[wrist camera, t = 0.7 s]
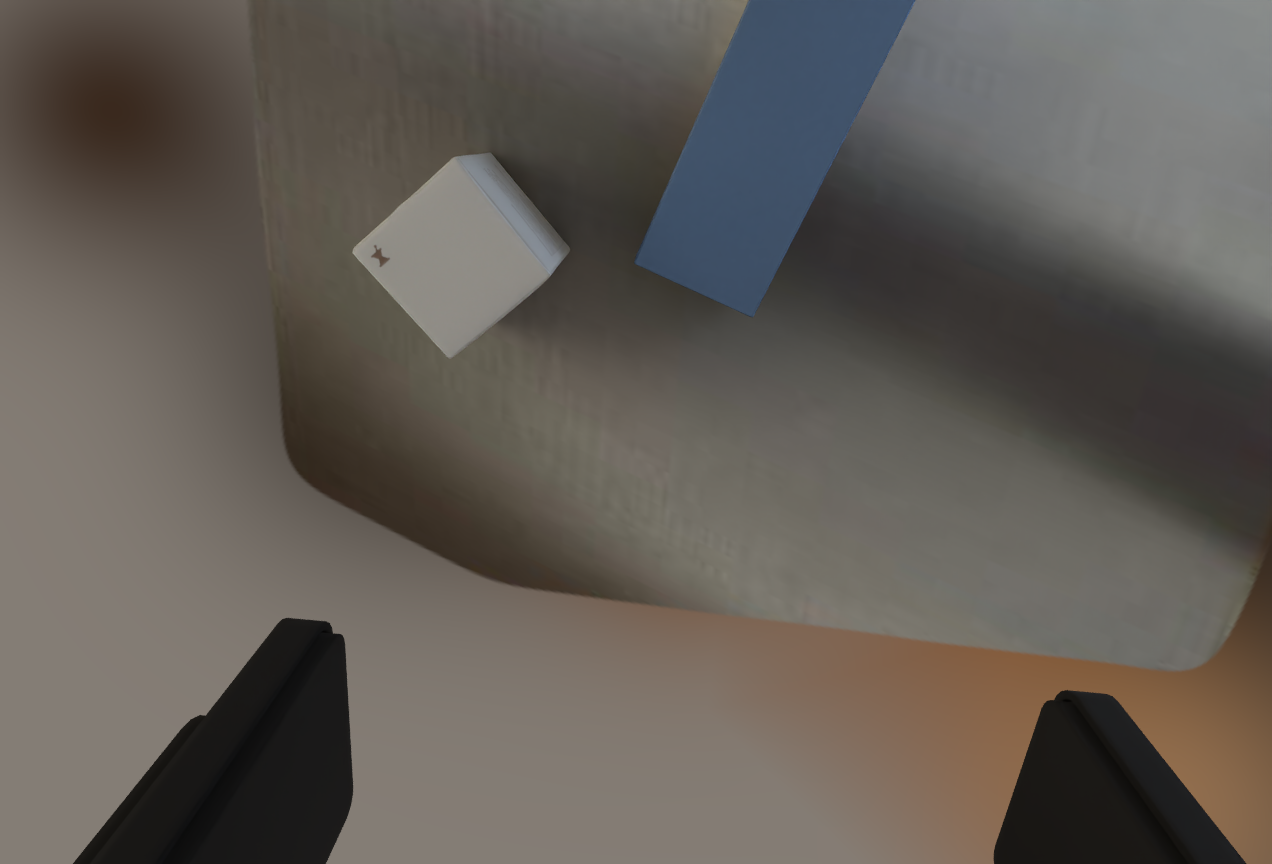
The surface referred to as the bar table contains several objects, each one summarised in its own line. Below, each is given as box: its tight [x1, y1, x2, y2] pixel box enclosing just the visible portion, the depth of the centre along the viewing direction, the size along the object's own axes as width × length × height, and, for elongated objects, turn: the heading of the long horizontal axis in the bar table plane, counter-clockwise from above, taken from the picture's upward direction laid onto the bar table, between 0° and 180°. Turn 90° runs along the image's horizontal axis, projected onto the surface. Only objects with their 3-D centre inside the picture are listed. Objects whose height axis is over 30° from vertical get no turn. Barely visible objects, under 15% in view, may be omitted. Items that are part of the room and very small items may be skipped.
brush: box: [634, 0, 915, 317], centre depth 35 cm, size 15×6×4 cm, turn 156°
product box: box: [353, 152, 570, 358], centre depth 36 cm, size 6×6×7 cm
